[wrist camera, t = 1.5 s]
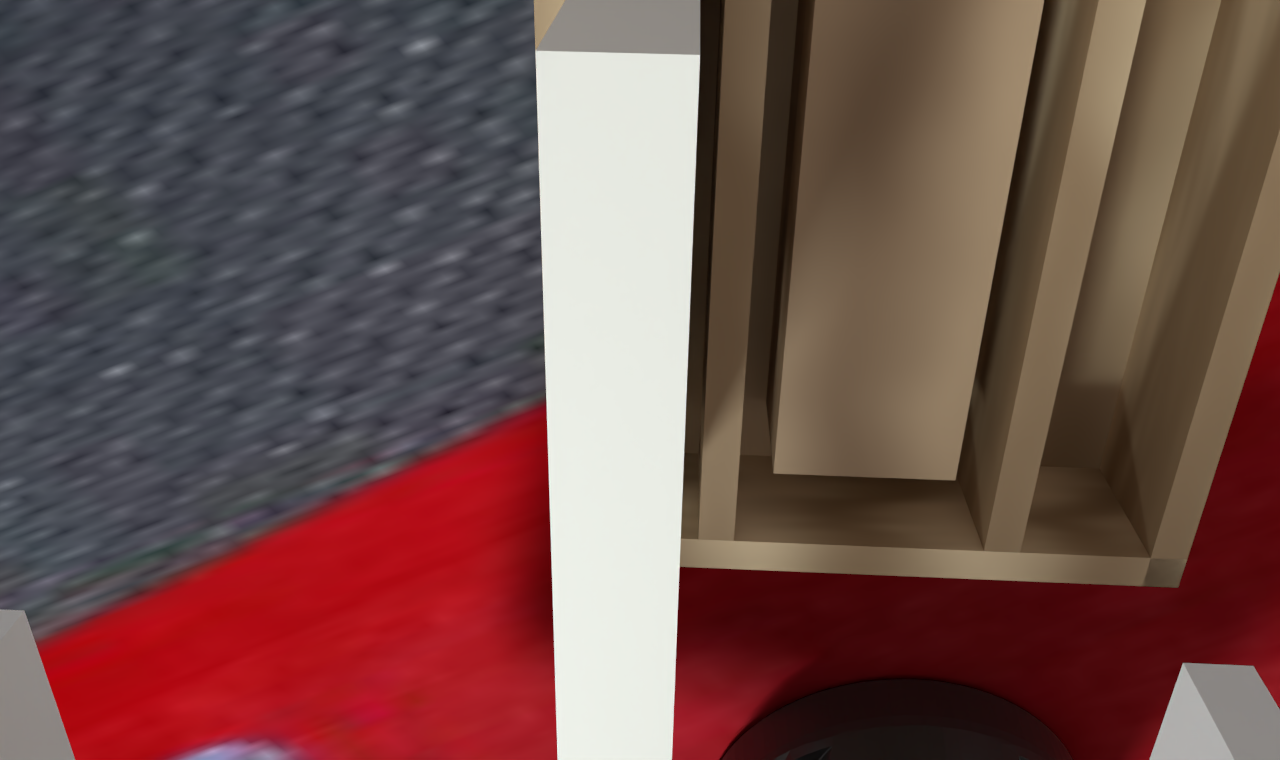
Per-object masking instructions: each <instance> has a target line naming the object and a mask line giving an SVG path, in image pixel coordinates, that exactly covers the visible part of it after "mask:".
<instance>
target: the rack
mask: <svg viewBox="0 0 1280 760" xmlns="http://www.w3.org/2000/svg"><path fill="white" fill-rule="evenodd" d="M564 2H565V0H534V18H535V50H536V49H537V48H538V46H539V44H540V43H541V41H542V39H543V37H544V36H545V34H546V32H547V31H548V29H549V27H550V26H551V24H552V22H553V20H554V19H555V17H556V15H557V14H558V12H559V10H560V9H561V7H562V5H563V4H564ZM797 13H798V0H700V71H699V96H698V121H697V146H696V171H695V195H694V220H693V245H692V270H691V295H690V320H689V345H688V370H687V394H686V419H685V444H684V469H683V494H682V519H681V544H680V567H697V568H721V569H744V570H768V571H792V572H816V573H840V574H864V575H887V576H911V577H935V578H959V579H983V580H1006V581H1030V582H1054V583H1078V584H1102V585H1126V586H1149V587H1173V588H1178V586H1179V583H1180V580H1181V577H1182V574H1183V571H1184V568H1185V565H1186V562H1187V559H1188V555H1189V552H1190V549H1191V546H1192V543H1193V540H1194V537H1195V534H1196V531H1197V527H1198V524H1199V521H1200V518H1201V515H1202V512H1203V509H1204V506H1205V503H1206V499H1207V496H1208V493H1209V490H1210V487H1211V484H1212V481H1213V478H1214V475H1215V471H1216V468H1217V465H1218V462H1219V459H1220V456H1221V453H1222V450H1223V447H1224V444H1225V440H1226V437H1227V434H1228V431H1229V428H1230V425H1231V422H1232V419H1233V416H1234V412H1235V409H1236V406H1237V403H1238V400H1239V397H1240V394H1241V391H1242V388H1243V384H1244V381H1245V378H1246V375H1247V372H1248V369H1249V366H1250V363H1251V360H1252V357H1253V353H1254V350H1255V347H1256V344H1257V341H1258V338H1259V335H1260V332H1261V329H1262V325H1263V322H1264V319H1265V316H1266V313H1267V310H1268V307H1269V304H1270V301H1271V297H1272V294H1273V291H1274V288H1275V285H1276V282H1277V279H1278V276H1279V273H1280V0H1044V4H1043V10H1042V15H1041V21H1040V26H1039V31H1038V37H1037V42H1036V48H1035V53H1034V59H1033V64H1032V69H1031V75H1030V80H1029V86H1028V91H1027V96H1026V102H1025V107H1024V113H1023V118H1022V123H1021V129H1020V134H1019V140H1018V145H1017V150H1016V156H1015V161H1014V167H1013V172H1012V177H1011V183H1010V188H1009V194H1008V199H1007V204H1006V210H1005V215H1004V221H1003V226H1002V231H1001V237H1000V242H999V248H998V253H997V258H996V264H995V269H994V275H993V280H992V286H991V291H990V296H989V302H988V307H987V313H986V318H985V323H984V329H983V334H982V340H981V345H980V350H979V356H978V361H977V367H976V372H975V377H974V383H973V388H972V394H971V399H970V404H969V410H968V415H967V421H966V426H965V431H964V437H963V442H962V448H961V453H960V458H959V464H958V469H957V475H956V480H955V481H954V480H928V479H903V478H877V477H851V476H826V475H800V474H774V473H773V464H772V454H771V444H770V435H769V425H768V415H767V406H766V396H767V383H768V371H769V359H770V346H771V334H772V321H773V309H774V297H775V284H776V272H777V260H778V247H779V235H780V223H781V210H782V198H783V186H784V173H785V161H786V148H787V136H788V124H789V111H790V99H791V87H792V74H793V62H794V50H795V37H796V25H797ZM536 82H537V79H536ZM537 115H538V111H537ZM538 147H539V143H538ZM539 179H540V175H539ZM540 211H541V207H540ZM541 243H542V240H541ZM542 275H543V272H542ZM543 307H544V304H543ZM544 339H545V336H544ZM545 372H546V368H545ZM546 404H547V401H546ZM547 436H548V433H547ZM548 468H549V465H548ZM549 500H550V497H549ZM550 532H551V529H550Z"/></svg>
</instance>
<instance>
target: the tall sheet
mask: <svg viewBox="0 0 1280 760" xmlns="http://www.w3.org/2000/svg"><path fill="white" fill-rule="evenodd" d="M699 71H700V0H565V2H564V4H563V5H562V7H561V9H560V10H559V12H558V14H557V15H556V17H555V19H554V20H553V22H552V24H551V26H550V27H549V29H548V31H547V32H546V34H545V36H544V37H543V39H542V41H541V43H540V44H539V46H538V48H537V49H536V79H537V111H538V143H539V175H540V207H541V240H542V272H543V304H544V336H545V368H546V401H547V433H548V465H549V497H550V529H551V561H552V594H553V626H554V658H555V690H556V722H557V755H558V760H672V743H673V718H674V693H675V668H676V643H677V618H678V593H679V569H680V544H681V519H682V494H683V469H684V444H685V419H686V394H687V370H688V345H689V320H690V295H691V270H692V245H693V220H694V195H695V171H696V146H697V121H698V96H699Z"/></svg>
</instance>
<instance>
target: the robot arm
mask: <svg viewBox="0 0 1280 760" xmlns="http://www.w3.org/2000/svg"><path fill="white" fill-rule="evenodd" d="M0 760H75V758H74V755H73V752H72V749H71V746H70V743H69V740H68V737H67V734H66V732H65V729H64V726H63V723H62V720H61V717H60V714H59V711H58V708H57V705H56V702H55V699H54V696H53V693H52V690H51V687H50V685H49V682H48V679H47V676H46V673H45V670H44V667H43V664H42V661H41V658H40V655H39V652H38V649H37V646H36V643H35V641H34V638H33V635H32V632H31V629H30V626H29V623H28V620H27V617H26V614H25V611H20V610H0ZM722 760H1073V759H1072V757H1071V755H1070V754H1069V752H1068V750H1067V749H1066V748H1065V746H1064V745H1063V743H1062V742H1061V741H1060V740H1059V739H1058V737H1057V736H1056V735H1055V734H1054V733H1053V732H1052V731H1051V730H1050V729H1049V728H1048V727H1047V726H1046V725H1044V724H1043V723H1042V722H1041V721H1039V720H1038V719H1037V718H1036V717H1034V716H1033V715H1031V714H1030V713H1028V712H1027V711H1025V710H1023V709H1022V708H1020V707H1018V706H1016V705H1014V704H1012V703H1010V702H1008V701H1006V700H1004V699H1002V698H999V697H997V696H994V695H992V694H989V693H986V692H983V691H980V690H977V689H974V688H970V687H966V686H962V685H957V684H951V683H946V682H939V681H931V680H917V679H891V680H877V681H867V682H861V683H854V684H849V685H844V686H840V687H836V688H832V689H828V690H825V691H822V692H818V693H815V694H812V695H810V696H807V697H805V698H802V699H799V700H797V701H795V702H793V703H791V704H788V705H786V706H784V707H783V708H781V709H779V710H777V711H775V712H773V713H772V714H770V715H769V716H767V717H765V718H764V719H762V720H761V721H760V722H758V723H757V724H756V725H754V726H753V727H752V728H750V729H749V730H748V731H747V732H746V733H745V734H743V735H742V736H741V737H740V738H739V739H738V740H737V741H736V742H735V743H734V744H733V746H732V747H731V748H730V749H729V750H728V751H727V753H726V754H725V755H724V757H723V758H722ZM1150 760H1280V709H1279V707H1278V706H1277V704H1276V702H1275V701H1274V699H1273V698H1272V696H1271V694H1270V693H1269V691H1268V689H1267V688H1266V686H1265V684H1264V683H1263V681H1262V679H1261V678H1260V676H1259V674H1258V673H1257V671H1256V670H1255V668H1254V666H1243V665H1221V664H1199V663H1183V664H1182V667H1181V670H1180V673H1179V676H1178V678H1177V681H1176V684H1175V687H1174V690H1173V693H1172V696H1171V699H1170V702H1169V705H1168V707H1167V710H1166V713H1165V716H1164V719H1163V722H1162V725H1161V728H1160V731H1159V734H1158V736H1157V739H1156V742H1155V745H1154V748H1153V751H1152V754H1151V757H1150Z"/></svg>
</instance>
